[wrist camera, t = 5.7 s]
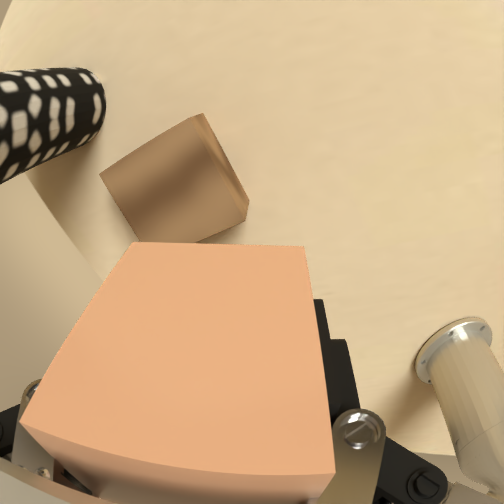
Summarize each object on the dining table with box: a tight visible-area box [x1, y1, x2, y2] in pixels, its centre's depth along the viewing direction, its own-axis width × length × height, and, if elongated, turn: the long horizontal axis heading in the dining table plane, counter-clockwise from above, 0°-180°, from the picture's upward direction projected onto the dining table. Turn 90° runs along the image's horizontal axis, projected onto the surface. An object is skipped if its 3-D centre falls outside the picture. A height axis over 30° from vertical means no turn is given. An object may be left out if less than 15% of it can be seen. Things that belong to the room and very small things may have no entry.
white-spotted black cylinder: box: [0, 68, 106, 184], centre depth 17 cm, size 8×8×20 cm
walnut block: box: [99, 113, 249, 243], centre depth 27 cm, size 9×9×5 cm
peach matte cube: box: [19, 242, 336, 504], centre depth 8 cm, size 6×6×7 cm
